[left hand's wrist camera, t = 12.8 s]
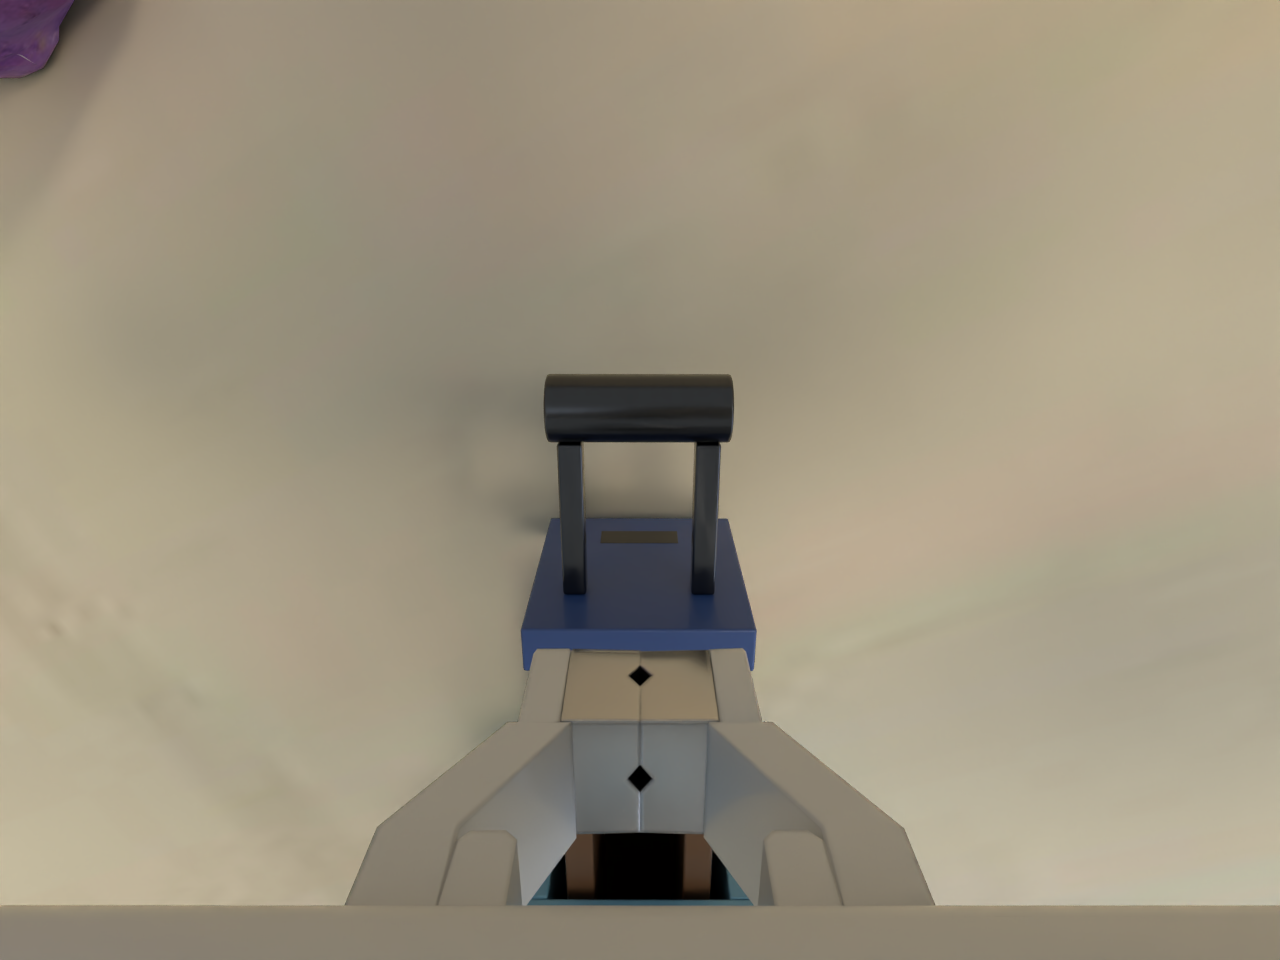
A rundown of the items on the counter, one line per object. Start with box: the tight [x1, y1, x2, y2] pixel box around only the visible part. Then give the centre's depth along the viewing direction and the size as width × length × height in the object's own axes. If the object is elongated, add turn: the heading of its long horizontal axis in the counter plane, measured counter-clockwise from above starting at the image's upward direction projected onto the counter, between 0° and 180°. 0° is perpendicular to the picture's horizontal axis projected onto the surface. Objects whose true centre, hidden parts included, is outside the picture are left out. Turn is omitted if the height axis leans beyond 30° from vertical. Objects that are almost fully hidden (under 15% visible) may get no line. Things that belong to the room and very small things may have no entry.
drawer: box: [521, 374, 756, 900], centre depth 23 cm, size 25×6×6 cm, turn 0°
